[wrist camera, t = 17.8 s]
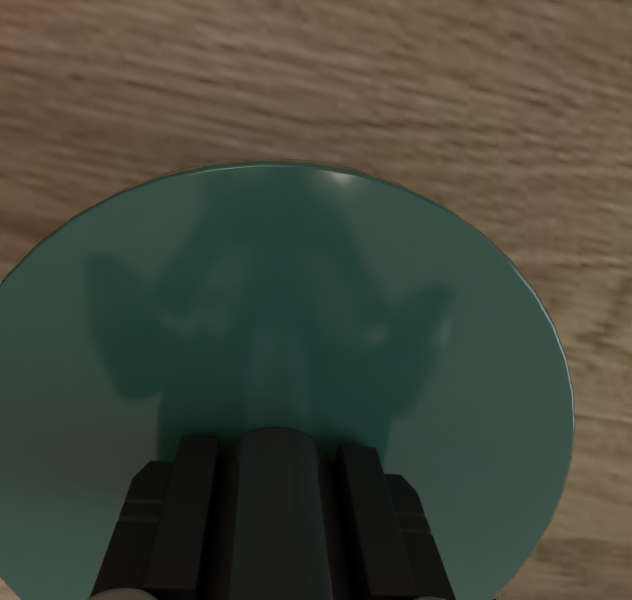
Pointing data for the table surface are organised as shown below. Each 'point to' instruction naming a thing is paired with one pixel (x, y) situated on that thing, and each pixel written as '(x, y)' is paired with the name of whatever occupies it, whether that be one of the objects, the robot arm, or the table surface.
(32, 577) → the lid
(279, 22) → the table surface
